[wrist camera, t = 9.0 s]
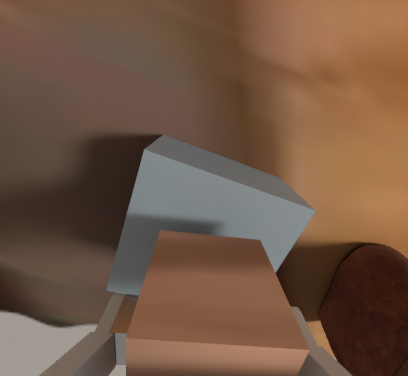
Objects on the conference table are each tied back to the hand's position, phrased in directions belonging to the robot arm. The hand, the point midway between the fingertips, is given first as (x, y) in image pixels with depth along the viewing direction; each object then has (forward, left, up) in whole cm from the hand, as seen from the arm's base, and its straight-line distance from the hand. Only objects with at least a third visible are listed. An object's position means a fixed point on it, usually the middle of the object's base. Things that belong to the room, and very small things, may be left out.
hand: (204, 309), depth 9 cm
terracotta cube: (0, 0, -2) cm, 2 cm away
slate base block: (0, 0, -10) cm, 10 cm away
